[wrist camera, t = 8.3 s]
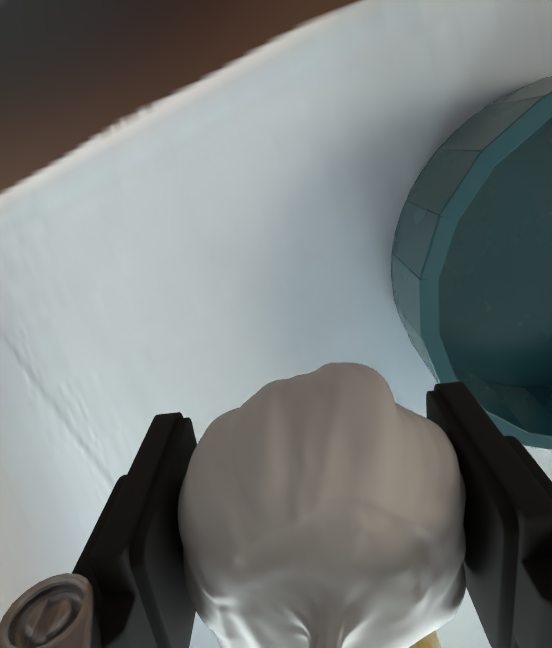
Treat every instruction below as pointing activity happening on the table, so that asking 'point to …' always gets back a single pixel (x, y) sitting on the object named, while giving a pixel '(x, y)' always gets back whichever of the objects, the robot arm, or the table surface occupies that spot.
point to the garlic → (324, 518)
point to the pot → (486, 262)
